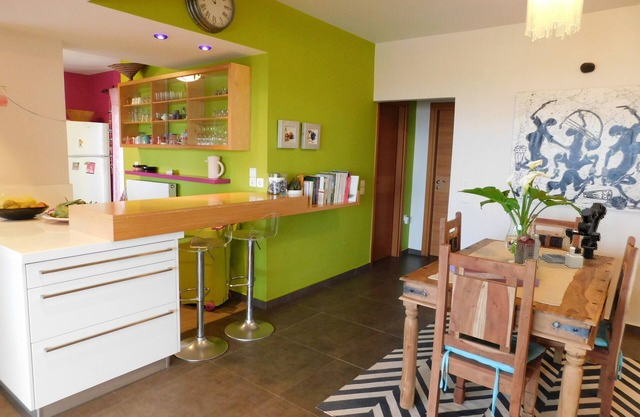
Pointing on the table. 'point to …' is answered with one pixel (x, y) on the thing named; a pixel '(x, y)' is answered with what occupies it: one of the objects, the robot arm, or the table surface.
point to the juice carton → (524, 248)
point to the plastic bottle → (536, 246)
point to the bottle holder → (553, 258)
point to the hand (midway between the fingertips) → (578, 245)
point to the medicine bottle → (574, 258)
